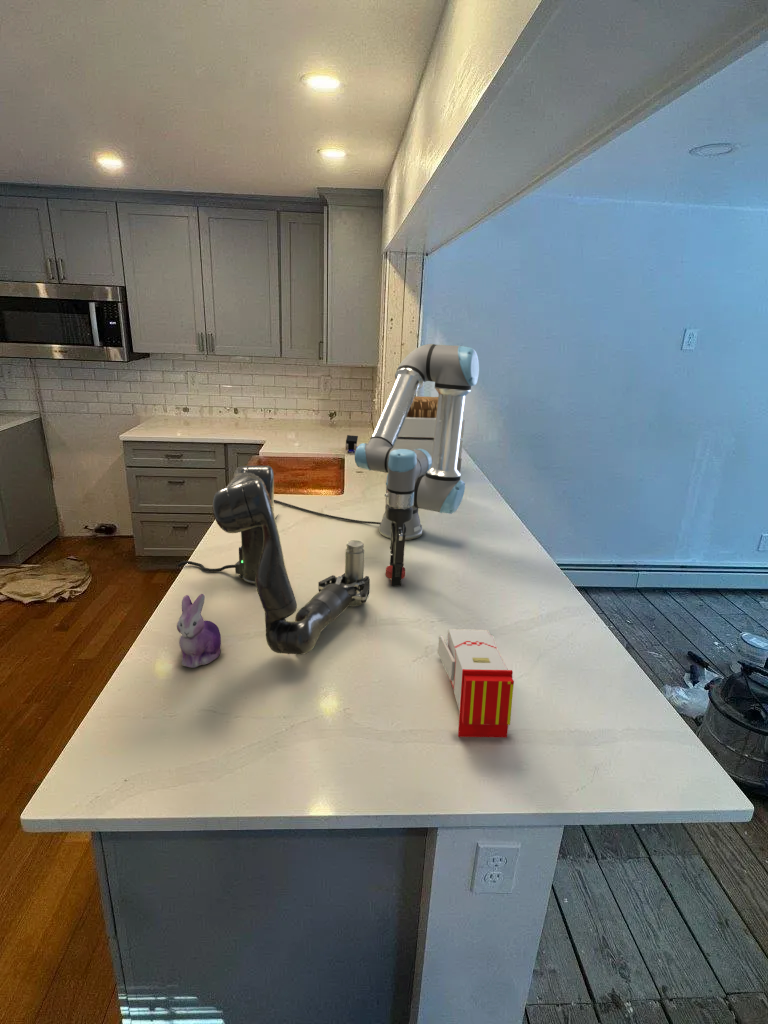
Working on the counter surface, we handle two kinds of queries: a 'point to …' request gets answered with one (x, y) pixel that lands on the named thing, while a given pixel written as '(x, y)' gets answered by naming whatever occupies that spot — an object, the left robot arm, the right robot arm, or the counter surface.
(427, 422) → the white wooden crate
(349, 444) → the figurine character
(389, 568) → the lid
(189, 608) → the figurine
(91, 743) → the counter surface
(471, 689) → the toy
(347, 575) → the jar
